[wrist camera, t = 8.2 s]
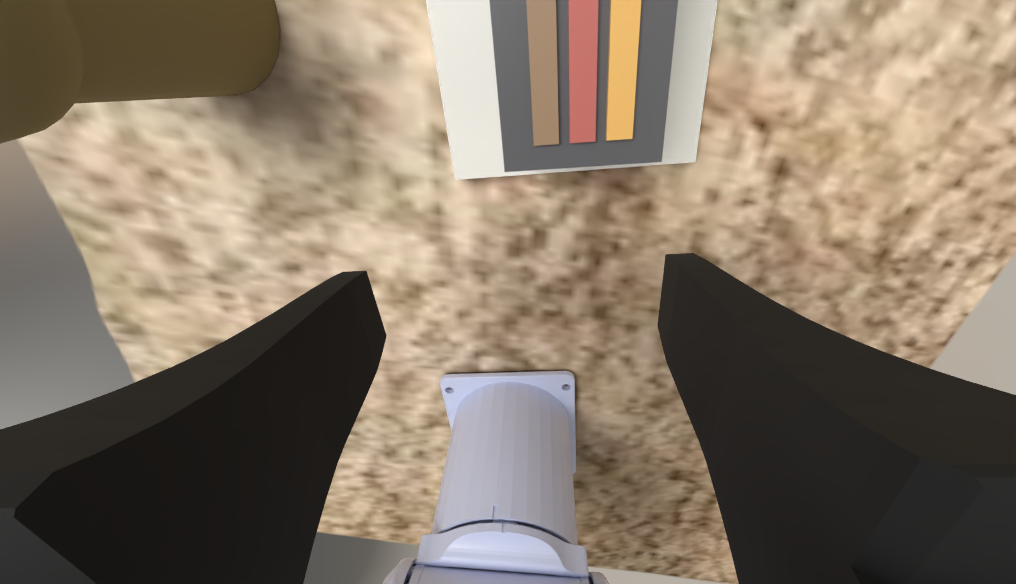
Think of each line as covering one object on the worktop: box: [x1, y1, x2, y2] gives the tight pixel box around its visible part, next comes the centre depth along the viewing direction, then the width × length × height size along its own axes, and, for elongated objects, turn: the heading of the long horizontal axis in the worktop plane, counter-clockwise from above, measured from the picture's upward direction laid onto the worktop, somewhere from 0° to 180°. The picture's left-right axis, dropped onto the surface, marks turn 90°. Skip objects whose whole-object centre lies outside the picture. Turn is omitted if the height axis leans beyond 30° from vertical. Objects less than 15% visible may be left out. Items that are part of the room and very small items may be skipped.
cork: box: [0, 0, 280, 143], centre depth 12 cm, size 6×6×11 cm
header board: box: [426, 0, 718, 180], centre depth 15 cm, size 12×10×4 cm
